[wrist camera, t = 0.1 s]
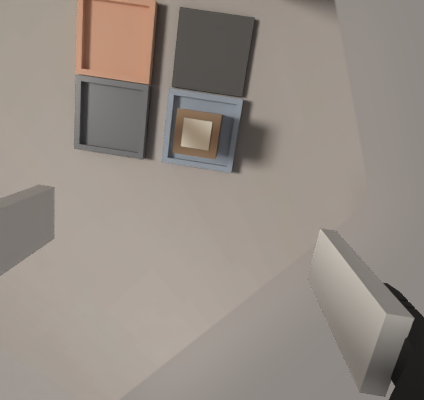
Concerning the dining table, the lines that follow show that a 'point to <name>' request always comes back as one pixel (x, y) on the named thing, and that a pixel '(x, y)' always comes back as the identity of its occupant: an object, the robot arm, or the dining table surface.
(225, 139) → the tray slate
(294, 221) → the dining table surface
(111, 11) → the tray terracotta
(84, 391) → the dining table surface
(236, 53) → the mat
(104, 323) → the dining table surface
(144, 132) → the tray charcoal
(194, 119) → the letter block
